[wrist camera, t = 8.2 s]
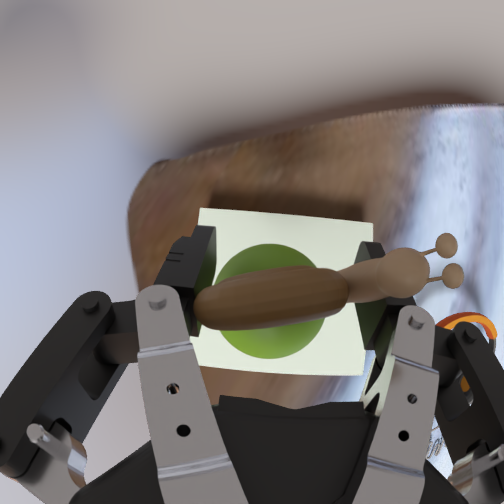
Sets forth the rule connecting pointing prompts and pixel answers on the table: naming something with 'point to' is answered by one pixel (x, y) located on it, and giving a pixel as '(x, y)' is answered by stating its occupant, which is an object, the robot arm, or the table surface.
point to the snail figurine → (306, 293)
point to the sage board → (323, 256)
